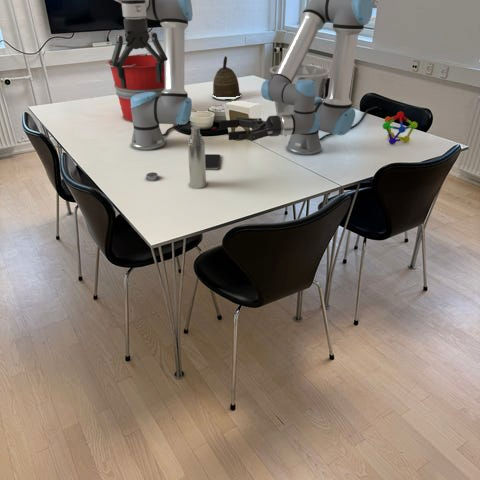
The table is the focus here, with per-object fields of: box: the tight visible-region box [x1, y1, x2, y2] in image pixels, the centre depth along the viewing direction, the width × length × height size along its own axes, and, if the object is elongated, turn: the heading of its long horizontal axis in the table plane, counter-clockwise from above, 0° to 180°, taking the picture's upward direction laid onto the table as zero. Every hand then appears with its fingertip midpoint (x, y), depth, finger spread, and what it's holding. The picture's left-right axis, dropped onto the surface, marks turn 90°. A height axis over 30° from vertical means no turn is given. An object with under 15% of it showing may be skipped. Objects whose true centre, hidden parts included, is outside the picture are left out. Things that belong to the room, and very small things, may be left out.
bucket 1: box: [105, 52, 165, 123], centre depth 239 cm, size 35×35×30 cm
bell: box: [212, 56, 242, 97], centre depth 278 cm, size 19×26×20 cm
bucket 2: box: [269, 63, 330, 116], centre depth 226 cm, size 30×30×28 cm
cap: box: [146, 171, 159, 181], centre depth 174 cm, size 4×4×2 cm
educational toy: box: [382, 110, 418, 145], centre depth 207 cm, size 16×13×15 cm
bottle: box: [187, 125, 207, 189], centre depth 164 cm, size 6×6×22 cm
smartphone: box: [205, 153, 221, 170], centre depth 189 cm, size 7×1×15 cm
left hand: (142, 85), depth 156 cm, fingers open, 13 cm apart
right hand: (224, 130), depth 161 cm, fingers open, 13 cm apart
